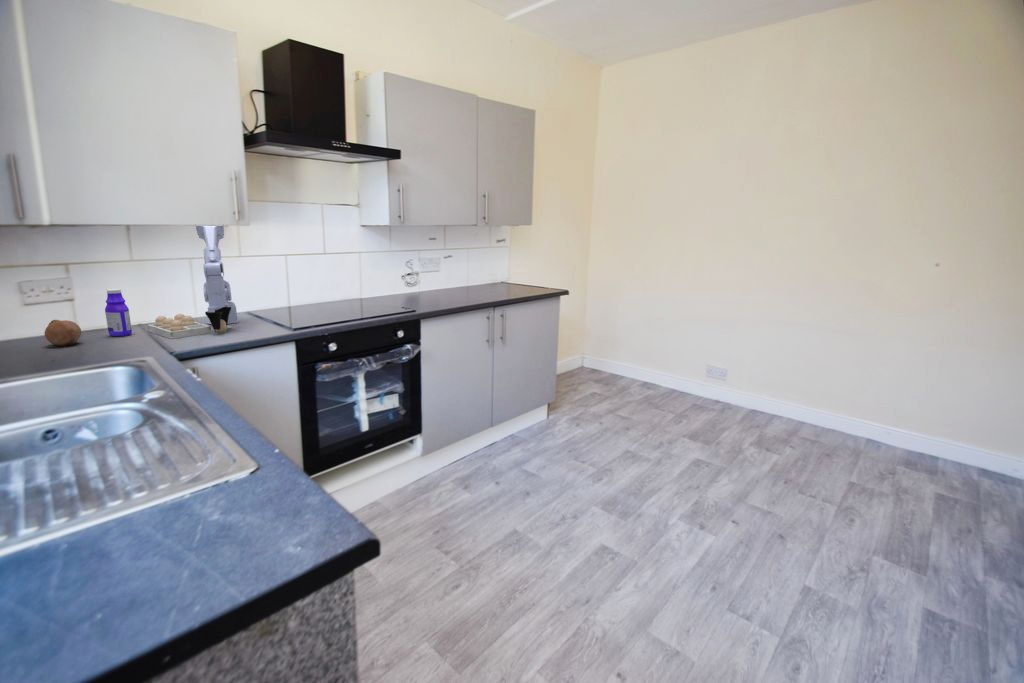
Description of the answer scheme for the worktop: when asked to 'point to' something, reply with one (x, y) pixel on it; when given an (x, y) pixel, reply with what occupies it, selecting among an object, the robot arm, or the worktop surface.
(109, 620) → the worktop surface
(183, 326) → the carton
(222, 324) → the egg
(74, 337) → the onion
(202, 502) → the worktop surface
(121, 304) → the bottle
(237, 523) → the worktop surface
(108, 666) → the worktop surface
